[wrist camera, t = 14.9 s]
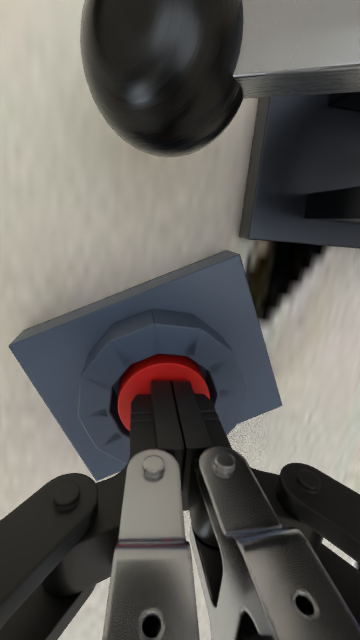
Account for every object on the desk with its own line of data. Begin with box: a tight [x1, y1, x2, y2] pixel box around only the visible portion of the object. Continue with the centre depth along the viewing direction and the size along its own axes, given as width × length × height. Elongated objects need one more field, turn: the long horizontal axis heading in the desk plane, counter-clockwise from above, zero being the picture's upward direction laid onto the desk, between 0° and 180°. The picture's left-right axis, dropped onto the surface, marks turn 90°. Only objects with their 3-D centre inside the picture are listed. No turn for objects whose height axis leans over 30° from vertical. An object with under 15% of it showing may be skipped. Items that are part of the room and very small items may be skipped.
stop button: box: [118, 354, 210, 431], centre depth 12 cm, size 4×4×2 cm
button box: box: [9, 250, 282, 481], centre depth 13 cm, size 10×8×4 cm
